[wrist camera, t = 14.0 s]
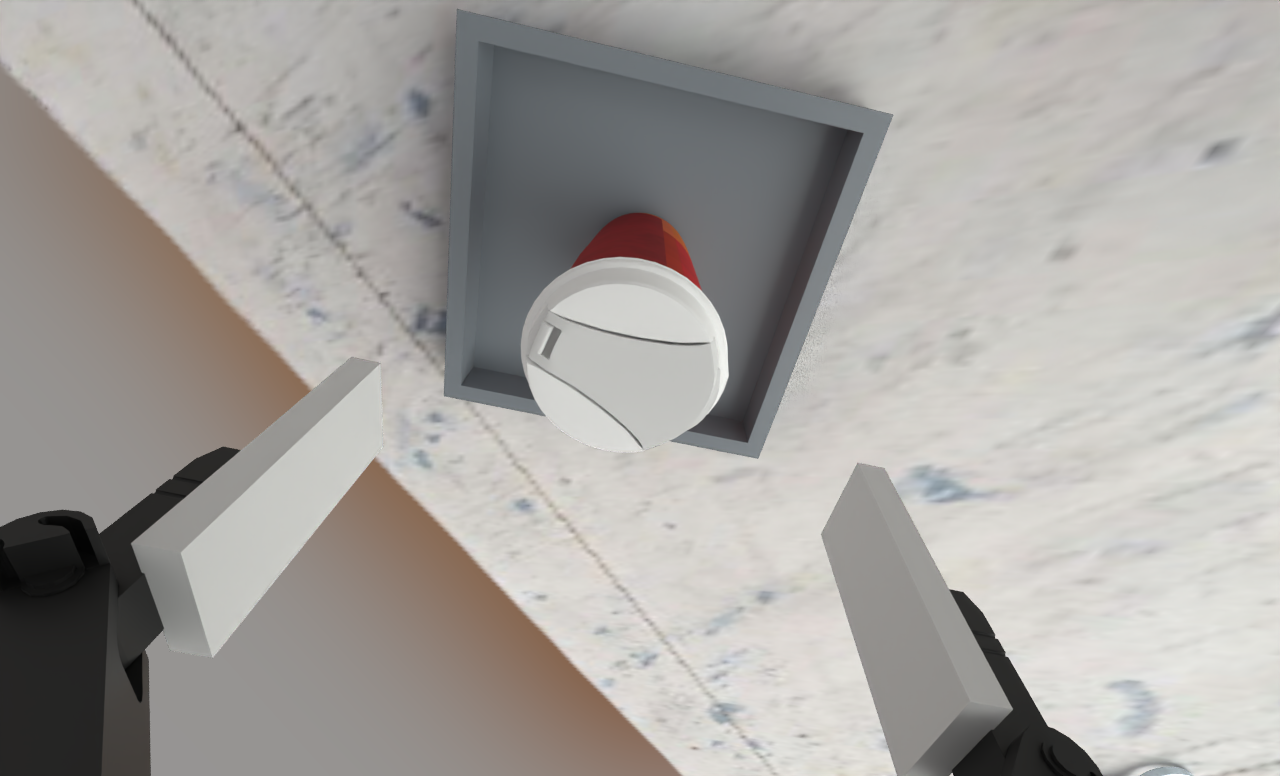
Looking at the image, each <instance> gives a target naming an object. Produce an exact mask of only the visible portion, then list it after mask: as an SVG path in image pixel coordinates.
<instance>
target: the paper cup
mask: <svg viewBox="0 0 1280 776" xmlns="http://www.w3.org/2000/svg"><path fill="white" fill-rule="evenodd" d="M521 360H522V364H523V369H524V373H525V376H526V378H527V381H528V383H529V387H530V389H531V392H532V394H533V397H534V399H535V401H536V402H537V404H538V406H539V407H540V409H541V411H542V412H543V413H544V414H545V415H546V417H547V418H548V419H549V420H550V421H551V422H552V423H553V424H554V425H555V426H556V427H557V428H558V429H559V430H560V431H562V432H563V433H565V434H566V435H568V436H569V437H571V438H572V439H574V440H576V441H578V442H580V443H582V444H585V445H587V446H590V447H593V448H596V449H600V450H605V451H610V452H622V453H626V452H640V451H644V450H647V449H650V448H653V447H656V446H659V445H661V444H663V443H666V442H668V441H670V440H673V439H675V438H676V437H678V436H679V435H681V434H682V433H684V432H685V431H687V430H689V429H691V428H692V427H694V426H695V425H697V424H698V423H699V422H700V421H702V420H703V419H704V417H705V416H706V415H707V414H708V413H709V412H710V411H711V410H712V408H713V407H714V406H715V405H716V403H717V402H718V400H719V398H720V396H721V395H722V393H723V391H724V389H725V386H726V383H727V380H728V377H729V372H728V345H727V340H726V335H725V330H724V327H723V325H722V322H721V319H720V317H719V315H718V313H717V311H716V310H715V308H714V306H713V305H712V303H711V301H710V300H709V299H708V298H707V297H706V295H705V294H704V293H703V292H702V290H701V287H700V284H699V281H698V278H697V275H696V272H695V269H694V267H693V264H692V261H691V258H690V256H689V253H688V250H687V248H686V246H685V243H684V241H683V240H682V238H681V236H680V235H679V233H678V232H677V231H676V229H675V228H674V227H673V226H672V225H670V224H669V223H668V222H667V221H665V220H663V219H662V218H660V217H657V216H655V215H652V214H647V213H630V214H625V215H622V216H620V217H617V218H615V219H614V220H612V221H611V222H609V223H608V224H607V225H606V226H604V227H603V228H602V229H601V230H600V231H599V233H598V234H597V235H596V236H595V237H594V238H593V240H592V241H591V242H590V243H589V245H588V246H587V247H586V248H585V249H584V250H583V251H582V252H581V254H580V255H579V257H578V258H577V260H576V261H575V263H574V264H573V266H572V267H571V268H570V269H569V270H568V271H566V272H565V273H563V274H562V275H560V276H558V277H557V278H556V279H554V280H553V281H552V282H551V283H550V284H549V285H548V286H547V287H546V288H545V289H544V290H543V291H542V292H541V294H540V295H539V296H538V297H537V299H536V300H535V301H534V303H533V305H532V307H531V309H530V311H529V313H528V315H527V317H526V320H525V324H524V327H523V330H522V338H521Z"/></svg>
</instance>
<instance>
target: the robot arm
mask: <svg viewBox="0 0 1280 776" xmlns="http://www.w3.org/2000/svg"><path fill="white" fill-rule="evenodd" d="M383 446H384V443H383V415H382V387H381V363H378V362H373V361H368V360H364V359H359V358H354V357H351V358H350V359H349V360H347V361H346V362H345V363H344V364H343V365H341V366H340V367H339V368H338V369H337V370H336V371H334V372H333V373H332V374H331V375H330V376H328V377H327V378H326V379H325V380H324V381H323V382H321V383H320V384H319V385H318V386H317V387H315V388H314V389H313V390H312V391H311V392H310V393H308V394H307V395H306V396H305V397H304V398H302V399H301V400H300V401H299V402H298V403H296V404H295V405H294V406H293V407H292V408H291V409H290V410H288V411H287V412H286V413H285V414H283V415H282V416H281V417H280V418H279V419H278V420H276V421H275V422H274V423H273V424H272V425H270V426H269V427H268V428H267V429H266V430H265V431H263V432H262V433H261V434H260V435H259V436H257V437H256V438H255V439H254V440H253V441H252V442H250V443H249V444H248V445H247V446H246V447H244V448H243V449H242V450H238V449H232V448H227V447H221V448H219V449H217V450H215V451H212V452H210V453H208V454H205V455H203V456H201V457H199V458H196V459H195V460H193V461H192V462H191V463H189V464H188V465H187V466H186V467H184V468H183V469H182V470H181V471H179V472H178V473H177V474H175V475H174V477H173V479H172V480H171V479H169V480H168V481H166V482H165V483H164V484H163V485H161V486H160V487H159V488H157V489H156V492H155V493H154V494H152V493H151V494H150V495H149V496H147V497H146V498H145V499H143V500H142V501H141V502H140V503H138V504H137V505H136V506H135V507H133V508H132V509H131V510H129V511H128V512H127V513H125V514H124V515H123V516H122V517H120V518H119V519H118V520H117V521H115V522H114V523H113V524H112V525H110V526H109V527H108V528H106V529H105V530H104V531H102V532H101V533H100V534H99V533H98V531H97V528H96V526H95V523H94V521H93V518H92V517H90V516H88V515H86V514H84V513H82V512H79V511H69V510H57V511H48V512H40V513H37V514H33V515H30V516H26V517H23V518H19V519H16V520H14V521H12V522H10V523H8V524H6V525H4V526H2V527H0V776H151V767H150V766H151V765H150V709H149V660H148V657H147V654H146V651H145V649H146V648H147V647H148V645H149V644H150V643H151V642H152V641H153V640H154V639H155V638H156V637H157V636H158V635H159V634H160V633H161V632H162V631H163V633H164V636H165V639H166V641H167V644H168V647H169V649H170V651H176V652H181V653H187V654H192V655H198V656H203V657H209V658H213V657H214V656H215V655H216V653H217V652H218V651H219V650H220V648H221V647H222V646H223V645H224V643H225V642H226V641H227V640H228V638H229V637H230V636H231V635H232V633H233V632H234V631H235V630H236V629H237V627H238V626H239V625H240V624H241V622H242V621H243V620H244V619H245V617H246V616H247V615H248V614H249V612H250V611H251V610H252V609H253V607H254V606H255V605H256V604H257V602H258V601H259V600H260V599H261V598H262V596H263V595H264V594H265V592H266V591H267V590H268V589H269V588H270V586H271V585H272V584H273V583H274V581H275V580H276V579H277V578H278V576H279V575H280V574H281V573H282V572H283V570H284V569H285V568H286V567H287V565H288V564H289V563H290V562H291V560H292V559H293V558H294V557H295V555H296V554H297V553H298V552H299V550H300V549H301V548H302V547H303V545H304V544H305V543H306V542H307V541H308V539H309V538H310V537H311V536H312V534H313V533H314V532H315V531H316V529H317V528H318V527H319V526H320V524H321V523H322V522H323V521H324V519H325V518H326V517H327V516H328V514H329V513H330V512H331V511H332V509H333V508H334V507H335V506H336V504H337V503H338V502H339V501H340V500H341V498H342V497H343V496H344V494H345V493H346V492H347V491H348V490H349V488H350V487H351V486H352V485H353V483H354V482H355V481H356V480H357V479H358V477H359V476H360V475H361V473H362V472H363V471H364V470H365V469H366V467H367V466H368V465H369V464H370V462H371V461H372V460H373V459H374V457H375V456H376V455H377V454H378V453H379V451H380V450H381V449H382V448H383ZM821 536H822V539H823V542H824V545H825V548H826V552H827V555H828V558H829V561H830V564H831V567H832V571H833V574H834V577H835V580H836V583H837V586H838V590H839V593H840V596H841V599H842V602H843V605H844V609H845V612H846V615H847V618H848V621H849V624H850V628H851V631H852V634H853V637H854V640H855V643H856V647H857V650H858V653H859V656H860V659H861V662H862V666H863V669H864V672H865V675H866V678H867V681H868V685H869V688H870V691H871V694H872V697H873V700H874V704H875V707H876V710H877V713H878V716H879V719H880V723H881V726H882V729H883V732H884V735H885V738H886V742H887V745H888V748H889V751H890V754H891V757H892V761H893V764H894V767H895V770H896V773H897V776H949V775H950V774H951V773H953V775H954V776H1103V775H1102V774H1101V772H1100V770H1099V768H1098V767H1097V765H1096V764H1095V763H1094V762H1093V760H1092V759H1091V758H1090V757H1089V756H1088V754H1087V753H1086V752H1085V751H1084V750H1083V749H1082V748H1081V747H1079V746H1078V745H1077V744H1076V743H1075V742H1074V741H1073V740H1071V739H1070V738H1069V737H1067V736H1066V735H1064V734H1062V733H1060V732H1059V731H1057V730H1055V729H1054V728H1050V727H1048V726H1047V724H1046V722H1045V721H1044V719H1043V717H1042V715H1041V714H1040V712H1039V710H1038V708H1037V707H1036V705H1035V703H1034V701H1033V700H1032V698H1031V696H1030V694H1029V693H1028V691H1027V689H1026V688H1025V686H1024V684H1023V682H1022V681H1021V679H1020V677H1019V675H1018V674H1017V672H1016V670H1015V668H1014V667H1013V665H1012V663H1011V661H1010V660H1009V658H1008V657H1006V656H1005V651H1004V649H1003V647H1002V646H1001V644H1000V642H999V640H998V639H995V633H994V632H993V630H992V628H991V626H990V625H989V623H988V621H987V619H986V618H985V616H984V614H983V613H982V612H981V611H980V609H979V608H978V607H977V606H976V605H975V604H974V603H973V602H972V601H971V600H970V599H969V598H968V597H967V596H966V595H965V593H964V592H960V591H955V590H950V589H949V588H948V587H947V585H946V583H945V581H944V579H943V577H942V575H941V573H940V572H939V570H938V568H937V566H936V564H935V562H934V560H933V558H932V557H931V555H930V553H929V551H928V549H927V547H926V545H925V543H924V542H923V540H922V538H921V536H920V534H919V532H918V530H917V528H916V527H915V525H914V523H913V521H912V519H911V517H910V515H909V513H908V512H907V510H906V508H905V506H904V504H903V502H902V500H901V498H900V497H899V495H898V493H897V491H896V489H895V487H894V485H893V483H892V482H891V480H890V478H889V476H888V474H887V472H886V470H885V468H881V467H876V466H872V465H867V464H862V463H857V465H856V467H855V469H854V471H853V473H852V475H851V477H850V479H849V481H848V483H847V485H846V486H845V488H844V490H843V492H842V494H841V496H840V498H839V500H838V502H837V504H836V506H835V508H834V510H833V512H832V514H831V516H830V518H829V520H828V522H827V524H826V526H825V527H824V529H823V531H822V533H821Z"/></svg>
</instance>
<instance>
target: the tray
mask: <svg viewBox="0 0 1280 776" xmlns="http://www.w3.org/2000/svg"><path fill="white" fill-rule="evenodd" d="M892 117H893V114H889V113H885V112H881V111H876V110H872V109H868V108H864V107H860V106H856V105H852V104H847V103H843V102H839V101H835V100H831V99H827V98H823V97H819V96H814V95H810V94H806V93H802V92H798V91H794V90H790V89H785V88H781V87H777V86H773V85H769V84H765V83H761V82H757V81H752V80H748V79H744V78H740V77H736V76H732V75H728V74H724V73H719V72H715V71H711V70H707V69H703V68H699V67H695V66H690V65H686V64H682V63H678V62H674V61H670V60H666V59H662V58H657V57H653V56H649V55H645V54H641V53H637V52H633V51H628V50H624V49H620V48H616V47H612V46H608V45H604V44H600V43H595V42H591V41H587V40H583V39H579V38H575V37H571V36H566V35H562V34H558V33H554V32H550V31H546V30H542V29H538V28H533V27H529V26H525V25H521V24H517V23H513V22H509V21H505V20H500V19H496V18H492V17H488V16H484V15H480V14H476V13H471V12H467V11H463V10H459V9H457V23H456V53H455V83H454V112H453V142H452V171H451V201H450V231H449V260H448V290H447V319H446V349H445V379H444V396H446V397H451V398H456V399H461V400H466V401H471V402H476V403H481V404H486V405H491V406H496V407H501V408H507V409H512V410H517V411H522V412H527V413H532V414H537V415H542V416H546V415H545V414H544V413H543V412H542V411H541V409H540V407H539V406H538V404H537V402H536V401H535V399H534V397H533V394H532V392H531V389H530V387H529V383H528V381H527V378H526V376H525V373H524V369H523V364H522V360H521V338H522V330H523V327H524V324H525V320H526V317H527V315H528V313H529V311H530V309H531V307H532V305H533V303H534V301H535V300H536V299H537V297H538V296H539V295H540V294H541V292H542V291H543V290H544V289H545V288H546V287H547V286H548V285H549V284H550V283H551V282H552V281H553V280H554V279H556V278H557V277H558V276H560V275H562V274H563V273H565V272H566V271H568V270H569V269H570V268H571V267H572V266H573V264H574V263H575V261H576V260H577V258H578V257H579V255H580V254H581V252H582V251H583V250H584V249H585V248H586V247H587V246H588V245H589V243H590V242H591V241H592V240H593V238H594V237H595V236H596V235H597V234H598V233H599V231H600V230H601V229H602V228H603V227H604V226H606V225H607V224H608V223H609V222H611V221H612V220H614V219H615V218H617V217H620V216H622V215H625V214H630V213H647V214H652V215H655V216H657V217H660V218H662V219H663V220H665V221H667V222H668V223H669V224H670V225H672V226H673V227H674V228H675V229H676V231H677V232H678V233H679V235H680V236H681V238H682V240H683V241H684V243H685V246H686V248H687V250H688V253H689V256H690V258H691V261H692V264H693V267H694V269H695V272H696V275H697V278H698V281H699V284H700V287H701V290H702V292H703V293H704V294H705V295H706V297H707V298H708V299H709V300H710V301H711V303H712V305H713V306H714V308H715V310H716V311H717V313H718V315H719V317H720V319H721V322H722V325H723V327H724V330H725V335H726V340H727V345H728V372H729V377H728V380H727V383H726V386H725V389H724V391H723V393H722V395H721V396H720V398H719V400H718V402H717V403H716V405H715V406H714V407H713V408H712V410H711V411H710V412H709V413H708V414H707V415H706V416H705V417H704V419H703V420H702V421H700V422H699V423H698V424H697V425H695V426H694V427H692V428H691V429H689V430H687V431H685V432H684V433H682V434H681V435H679V436H678V437H676V438H675V439H673V440H670V441H672V442H677V443H682V444H687V445H692V446H697V447H702V448H707V449H712V450H717V451H722V452H727V453H732V454H737V455H742V456H747V457H752V458H757V459H758V458H759V456H760V453H761V451H762V448H763V445H764V443H765V440H766V438H767V435H768V433H769V430H770V428H771V425H772V423H773V420H774V417H775V415H776V412H777V410H778V407H779V405H780V402H781V400H782V397H783V395H784V392H785V389H786V387H787V384H788V382H789V379H790V377H791V374H792V372H793V369H794V367H795V364H796V361H797V359H798V356H799V354H800V351H801V349H802V346H803V344H804V341H805V339H806V336H807V333H808V331H809V328H810V326H811V323H812V321H813V318H814V316H815V313H816V311H817V308H818V305H819V303H820V300H821V298H822V295H823V293H824V290H825V288H826V285H827V283H828V280H829V277H830V275H831V272H832V270H833V267H834V265H835V262H836V260H837V257H838V255H839V252H840V249H841V247H842V244H843V242H844V239H845V237H846V234H847V232H848V229H849V227H850V224H851V221H852V219H853V216H854V214H855V211H856V209H857V206H858V204H859V201H860V199H861V196H862V193H863V191H864V188H865V186H866V183H867V181H868V178H869V176H870V173H871V171H872V168H873V165H874V163H875V160H876V158H877V155H878V153H879V150H880V148H881V145H882V143H883V140H884V137H885V135H886V132H887V130H888V127H889V125H890V122H891V120H892Z"/></svg>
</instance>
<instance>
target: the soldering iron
mask: <svg viewBox="0 0 1280 776" xmlns="http://www.w3.org/2000/svg"><path fill="white" fill-rule="evenodd" d="M1140 776H1193V775H1192V774H1191V773H1190V772H1188V771H1187V770H1185V769H1182V768H1178V767H1161V768H1156V769H1153V770H1150V771H1147V772H1145V773H1143V774H1142V775H1140Z"/></svg>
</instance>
